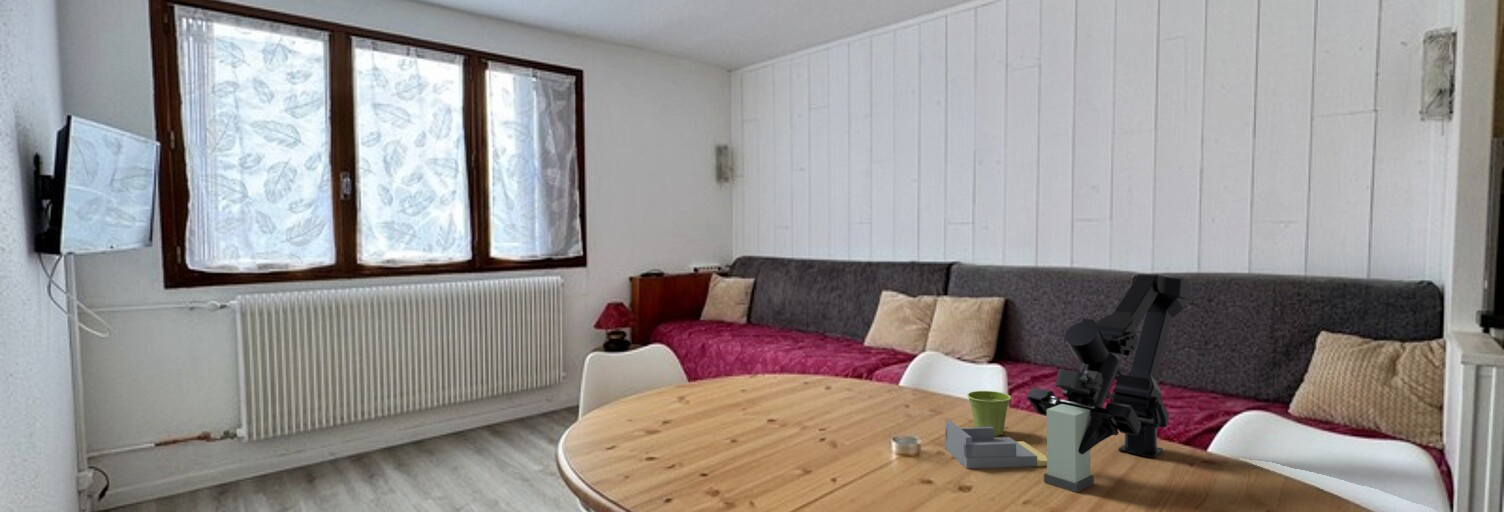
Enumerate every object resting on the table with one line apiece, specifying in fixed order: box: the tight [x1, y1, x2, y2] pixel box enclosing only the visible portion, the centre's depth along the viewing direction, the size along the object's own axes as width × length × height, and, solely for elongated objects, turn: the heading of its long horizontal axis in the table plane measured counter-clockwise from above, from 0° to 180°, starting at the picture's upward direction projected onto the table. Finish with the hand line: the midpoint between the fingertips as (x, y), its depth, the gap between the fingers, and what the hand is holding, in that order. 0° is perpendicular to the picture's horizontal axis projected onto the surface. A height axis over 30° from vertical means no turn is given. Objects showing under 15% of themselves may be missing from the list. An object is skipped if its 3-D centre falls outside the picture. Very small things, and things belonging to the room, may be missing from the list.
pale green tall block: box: [1043, 404, 1095, 493], centre depth 116 cm, size 6×6×14 cm
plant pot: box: [966, 390, 1012, 438], centre depth 147 cm, size 9×9×9 cm
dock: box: [944, 420, 1047, 470], centre depth 131 cm, size 17×12×6 cm
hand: (1064, 448), depth 115 cm, fingers closed on pale green tall block, 5 cm apart
